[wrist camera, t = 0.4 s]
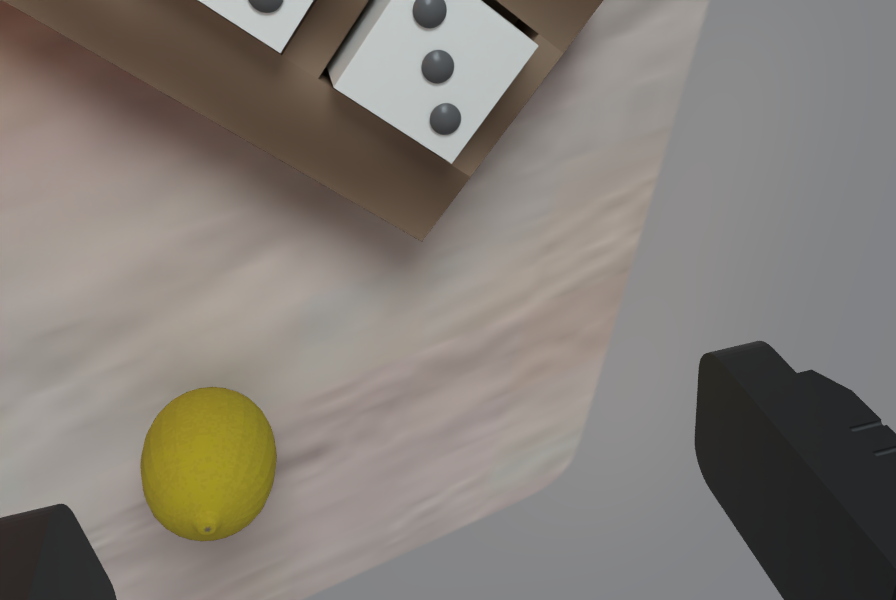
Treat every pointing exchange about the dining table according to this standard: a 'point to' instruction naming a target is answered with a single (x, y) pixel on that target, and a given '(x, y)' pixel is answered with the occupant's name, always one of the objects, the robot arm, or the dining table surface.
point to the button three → (430, 66)
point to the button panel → (307, 90)
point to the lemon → (208, 464)
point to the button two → (263, 17)
